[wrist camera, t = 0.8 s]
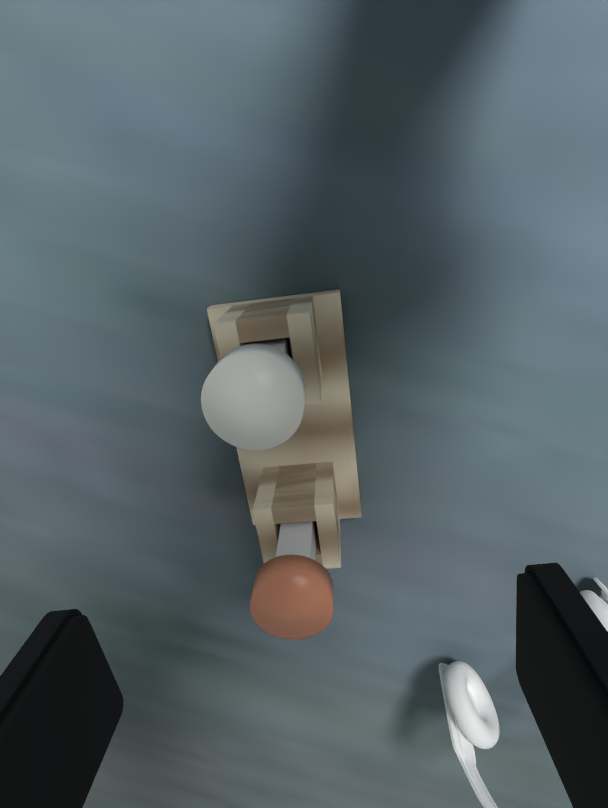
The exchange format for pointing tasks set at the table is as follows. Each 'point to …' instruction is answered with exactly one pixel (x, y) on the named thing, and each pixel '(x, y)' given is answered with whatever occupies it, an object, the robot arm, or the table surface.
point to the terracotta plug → (293, 587)
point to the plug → (255, 395)
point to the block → (320, 426)
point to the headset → (484, 706)
